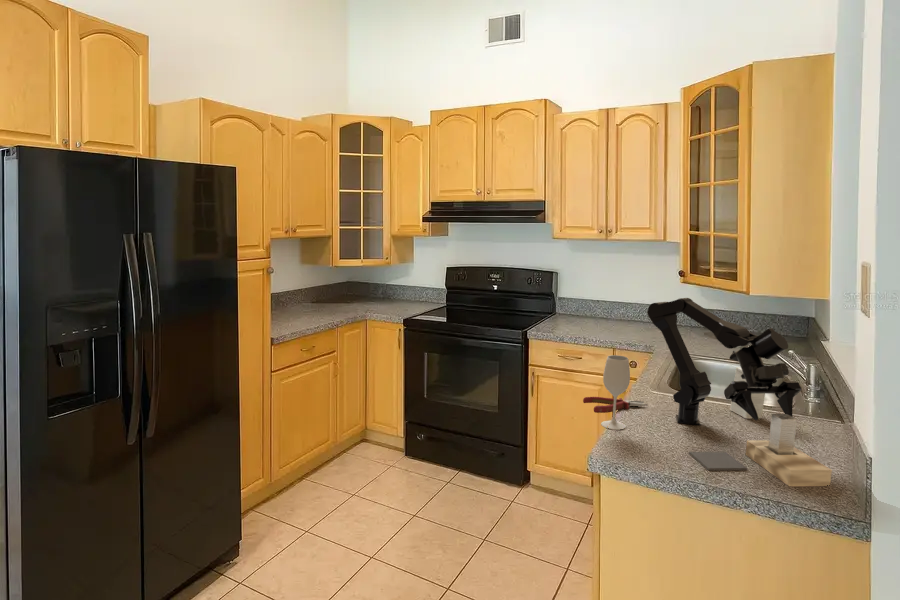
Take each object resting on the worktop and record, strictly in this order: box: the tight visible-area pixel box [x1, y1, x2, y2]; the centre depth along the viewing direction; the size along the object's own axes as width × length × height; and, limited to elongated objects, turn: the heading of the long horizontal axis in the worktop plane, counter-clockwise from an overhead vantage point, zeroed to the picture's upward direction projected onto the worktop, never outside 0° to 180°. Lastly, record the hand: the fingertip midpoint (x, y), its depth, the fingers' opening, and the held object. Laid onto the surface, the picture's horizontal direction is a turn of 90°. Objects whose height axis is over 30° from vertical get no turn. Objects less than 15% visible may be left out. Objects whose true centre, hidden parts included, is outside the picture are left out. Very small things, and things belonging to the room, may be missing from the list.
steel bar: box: [768, 413, 798, 455], centre depth 145 cm, size 4×4×13 cm
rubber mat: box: [688, 451, 748, 471], centre depth 147 cm, size 10×10×1 cm
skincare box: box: [729, 366, 766, 420], centre depth 183 cm, size 8×6×15 cm
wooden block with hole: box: [745, 439, 833, 487], centre depth 143 cm, size 18×10×4 cm, turn 3°
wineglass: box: [600, 354, 631, 431], centre depth 170 cm, size 8×8×21 cm
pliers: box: [582, 396, 649, 414], centre depth 189 cm, size 12×20×3 cm, turn 98°
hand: (773, 419), depth 148 cm, fingers open, 9 cm apart
